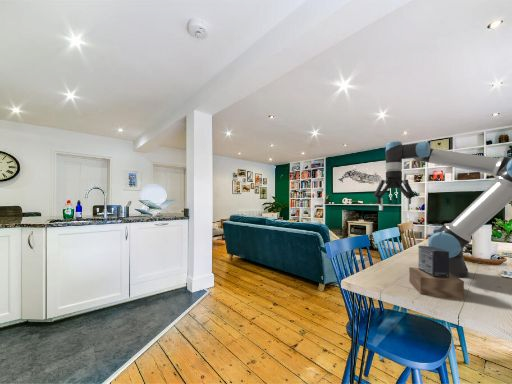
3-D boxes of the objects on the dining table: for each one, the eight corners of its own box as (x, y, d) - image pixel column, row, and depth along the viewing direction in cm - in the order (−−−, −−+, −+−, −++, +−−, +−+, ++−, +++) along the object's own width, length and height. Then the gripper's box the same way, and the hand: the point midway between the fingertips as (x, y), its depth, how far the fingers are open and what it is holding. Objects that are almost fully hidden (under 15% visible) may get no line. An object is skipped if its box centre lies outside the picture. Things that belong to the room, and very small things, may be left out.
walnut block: (446, 286, 101) (446, 270, 101) (464, 300, 88) (463, 281, 88) (409, 282, 105) (409, 267, 106) (420, 295, 92) (420, 277, 92)
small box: (450, 277, 92) (450, 251, 92) (432, 277, 92) (432, 250, 93) (433, 269, 102) (433, 245, 102) (417, 269, 103) (417, 245, 103)
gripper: (413, 171, 128) (413, 210, 128) (367, 171, 130) (367, 209, 130) (422, 170, 121) (422, 210, 121) (372, 170, 123) (373, 210, 122)
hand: (394, 210), depth 125 cm, fingers open, 13 cm apart
